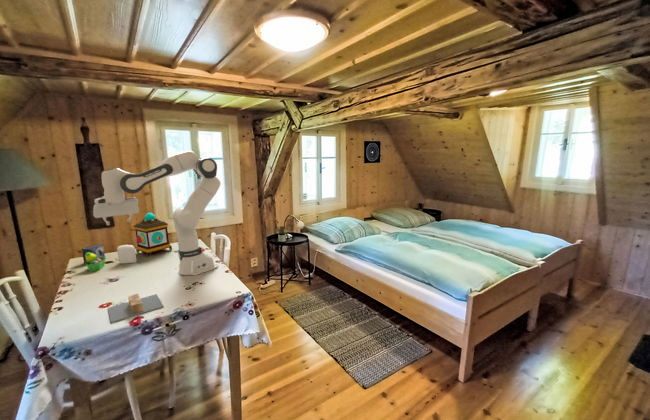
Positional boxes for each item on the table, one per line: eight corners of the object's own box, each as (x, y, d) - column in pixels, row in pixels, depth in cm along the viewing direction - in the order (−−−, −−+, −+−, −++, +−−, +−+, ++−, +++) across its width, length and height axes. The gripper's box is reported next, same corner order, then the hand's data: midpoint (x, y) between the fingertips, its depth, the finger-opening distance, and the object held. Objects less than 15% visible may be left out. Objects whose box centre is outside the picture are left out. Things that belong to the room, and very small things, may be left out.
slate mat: (156, 295, 147) (156, 294, 147) (163, 307, 135) (163, 306, 135) (108, 308, 135) (108, 307, 135) (111, 323, 123) (111, 322, 123)
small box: (91, 264, 193) (88, 249, 192) (83, 263, 195) (80, 248, 193) (106, 258, 204) (103, 244, 202) (98, 258, 205) (96, 244, 203)
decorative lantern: (147, 258, 202) (141, 216, 197) (133, 253, 213) (127, 213, 207) (175, 250, 219) (170, 211, 214) (160, 246, 229) (155, 209, 224)
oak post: (131, 305, 128) (127, 296, 137) (132, 314, 129) (129, 304, 138) (142, 302, 131) (137, 293, 140) (143, 310, 131) (139, 301, 140)
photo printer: (118, 264, 192) (115, 246, 190) (121, 261, 196) (119, 244, 194) (134, 263, 193) (131, 245, 191) (137, 261, 197) (135, 243, 195)
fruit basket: (101, 270, 182) (98, 253, 180) (84, 272, 179) (81, 255, 177) (107, 264, 192) (104, 248, 190) (91, 266, 189) (88, 250, 187)
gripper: (136, 195, 164) (140, 219, 167) (91, 200, 151) (95, 225, 154) (138, 197, 160) (141, 221, 162) (91, 201, 147) (95, 227, 149)
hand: (118, 223), depth 158 cm, fingers open, 8 cm apart
